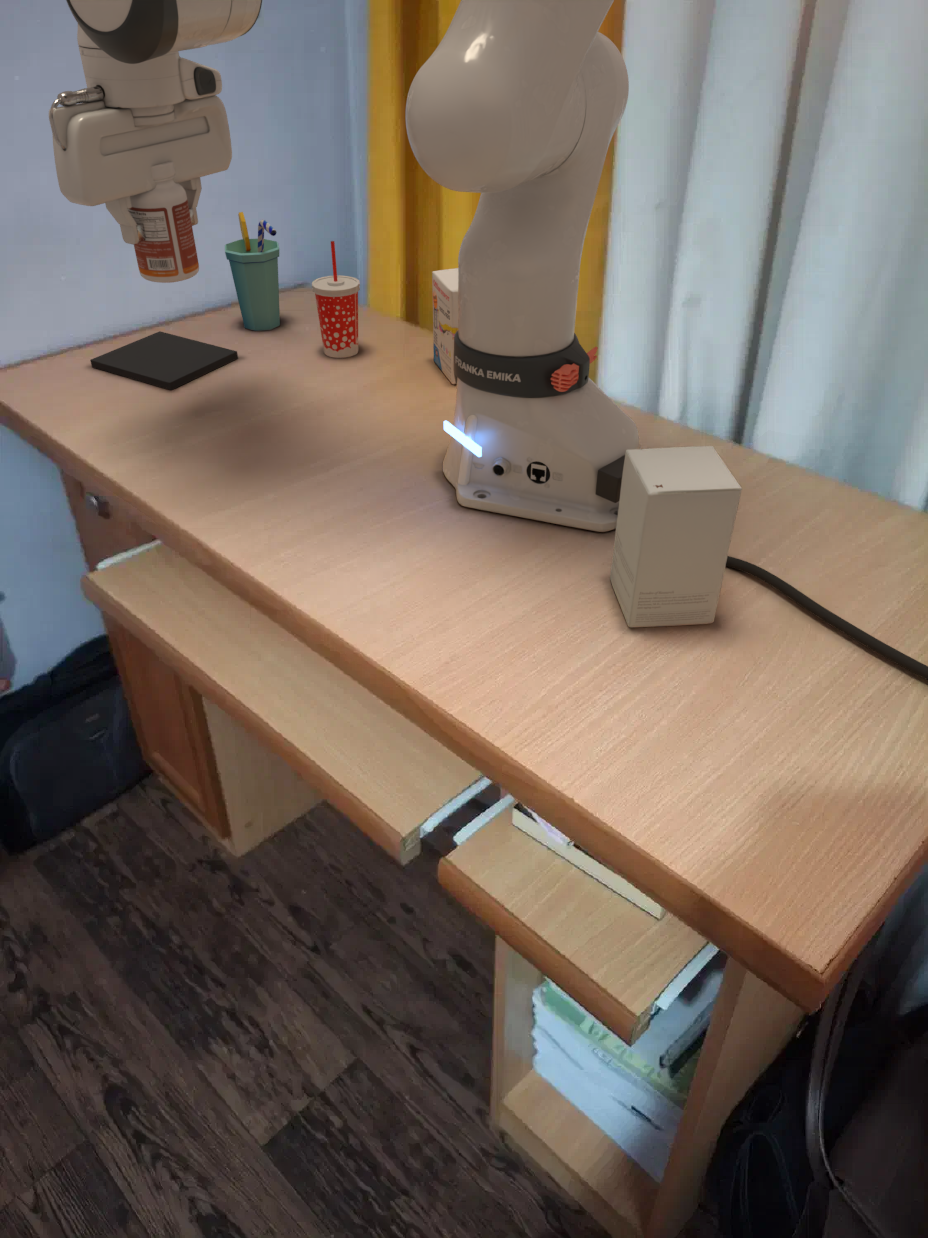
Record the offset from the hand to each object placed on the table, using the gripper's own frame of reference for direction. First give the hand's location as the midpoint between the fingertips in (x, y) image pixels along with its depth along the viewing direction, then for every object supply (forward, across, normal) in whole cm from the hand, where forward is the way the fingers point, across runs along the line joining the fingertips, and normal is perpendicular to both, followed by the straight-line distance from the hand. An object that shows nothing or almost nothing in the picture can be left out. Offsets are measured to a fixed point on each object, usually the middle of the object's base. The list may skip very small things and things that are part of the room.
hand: (162, 233), depth 95 cm
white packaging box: (+19, -8, -61) cm, 64 cm away
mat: (+20, +9, +13) cm, 25 cm away
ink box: (+20, +27, -22) cm, 40 cm away
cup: (+20, +26, +11) cm, 34 cm away
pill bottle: (+4, 0, 0) cm, 4 cm away
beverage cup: (+20, +23, -4) cm, 31 cm away
